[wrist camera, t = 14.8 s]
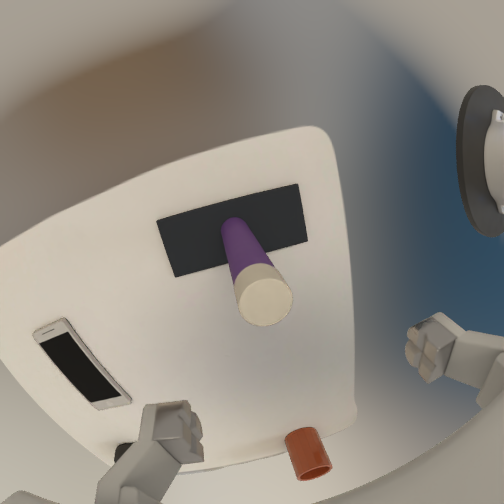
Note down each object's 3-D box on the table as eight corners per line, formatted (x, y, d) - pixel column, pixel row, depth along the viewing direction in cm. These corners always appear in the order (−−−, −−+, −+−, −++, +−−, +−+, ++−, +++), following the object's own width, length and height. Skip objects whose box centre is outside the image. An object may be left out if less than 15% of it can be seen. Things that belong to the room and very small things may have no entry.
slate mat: (296, 183, 26) (298, 184, 26) (306, 239, 28) (308, 241, 28) (157, 220, 25) (156, 221, 24) (175, 275, 27) (175, 277, 27)
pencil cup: (315, 423, 40) (332, 461, 32) (317, 437, 43) (332, 472, 34) (282, 434, 40) (295, 473, 32) (286, 447, 42) (298, 483, 34)
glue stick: (245, 213, 26) (288, 271, 13) (251, 239, 27) (296, 317, 14) (217, 220, 26) (232, 287, 12) (224, 247, 26) (245, 332, 13)
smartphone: (98, 407, 32) (97, 411, 31) (33, 331, 26) (30, 335, 25) (132, 399, 32) (132, 404, 31) (64, 316, 26) (61, 320, 25)
